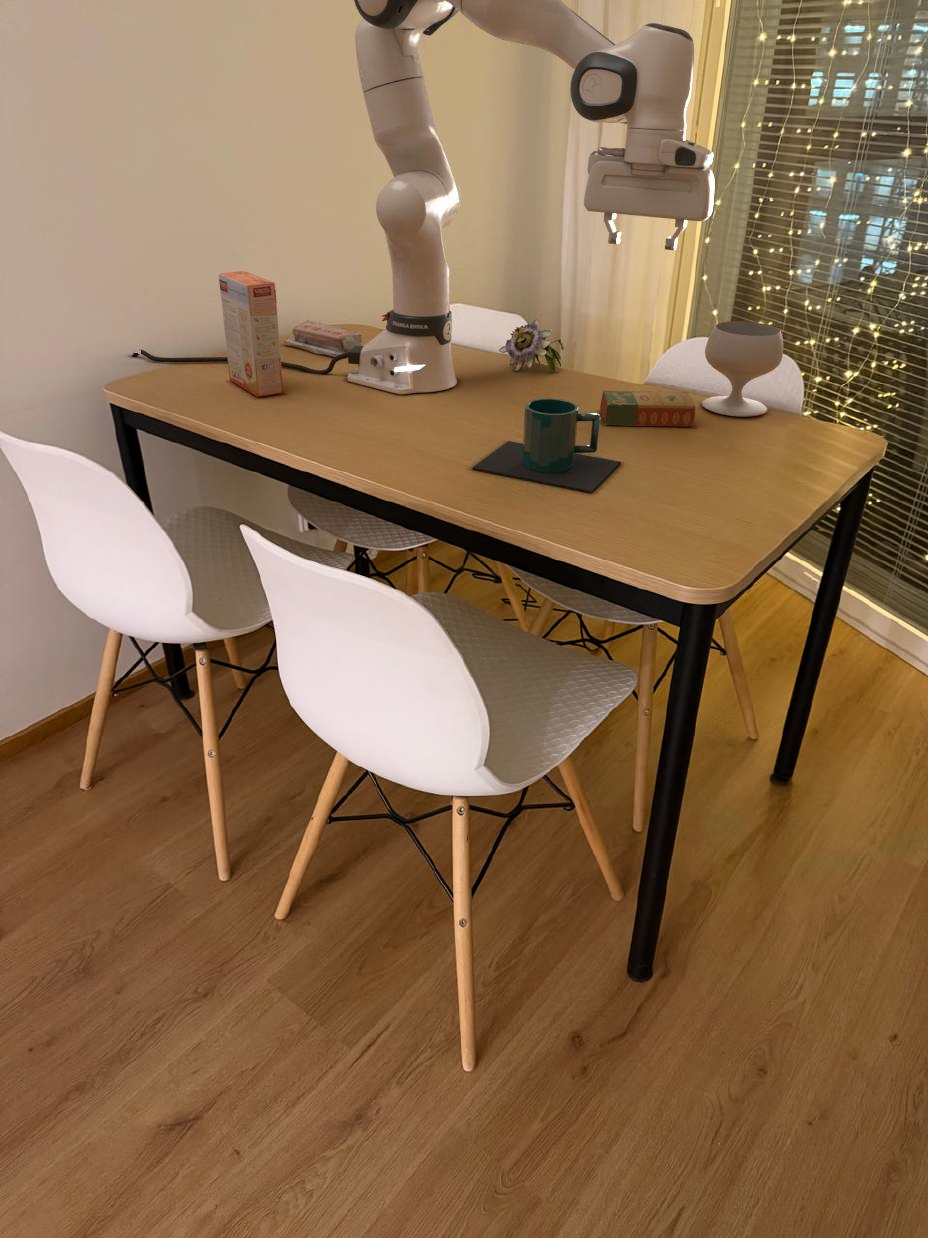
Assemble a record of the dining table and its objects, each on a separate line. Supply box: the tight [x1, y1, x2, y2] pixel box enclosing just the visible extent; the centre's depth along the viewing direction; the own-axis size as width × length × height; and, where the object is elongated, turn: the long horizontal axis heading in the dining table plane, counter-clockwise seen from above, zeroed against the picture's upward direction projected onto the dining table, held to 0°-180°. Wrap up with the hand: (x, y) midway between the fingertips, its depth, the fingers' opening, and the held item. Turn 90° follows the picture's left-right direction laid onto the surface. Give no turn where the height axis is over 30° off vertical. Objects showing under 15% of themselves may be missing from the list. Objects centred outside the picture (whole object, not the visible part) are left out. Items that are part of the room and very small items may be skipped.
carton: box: [599, 390, 697, 427], centre depth 167 cm, size 8×16×4 cm, turn 88°
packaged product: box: [283, 320, 367, 358], centre depth 206 cm, size 18×5×10 cm
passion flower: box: [498, 318, 565, 373], centre depth 195 cm, size 11×11×12 cm
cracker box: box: [218, 270, 284, 398], centre depth 175 cm, size 14×6×21 cm, turn 34°
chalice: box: [701, 320, 784, 417], centre depth 171 cm, size 14×14×15 cm
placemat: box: [472, 440, 621, 494], centre depth 146 cm, size 20×14×1 cm
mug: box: [522, 397, 601, 473], centre depth 144 cm, size 12×8×10 cm
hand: (641, 246), depth 146 cm, fingers open, 8 cm apart
